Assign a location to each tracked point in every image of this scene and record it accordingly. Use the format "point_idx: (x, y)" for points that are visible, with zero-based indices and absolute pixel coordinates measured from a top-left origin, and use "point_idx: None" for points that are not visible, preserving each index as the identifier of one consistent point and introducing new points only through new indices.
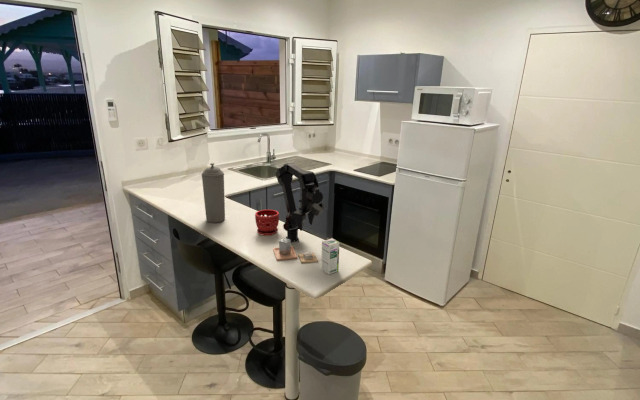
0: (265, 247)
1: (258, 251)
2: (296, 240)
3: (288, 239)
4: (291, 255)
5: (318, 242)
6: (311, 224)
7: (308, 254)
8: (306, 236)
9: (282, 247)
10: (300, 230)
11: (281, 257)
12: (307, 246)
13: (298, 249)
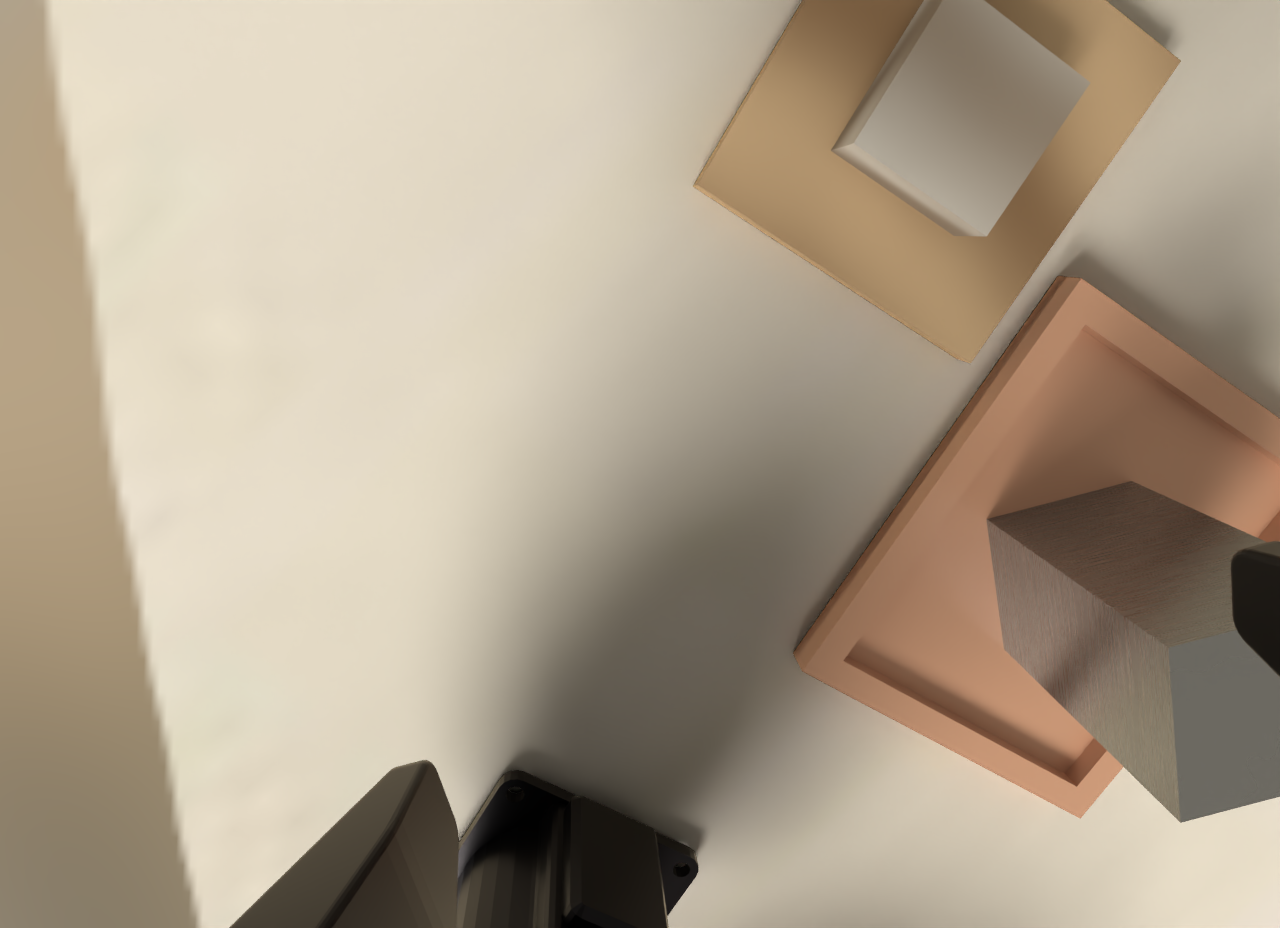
0: (1075, 914)
1: (1240, 874)
2: (558, 804)
3: (1182, 697)
4: (1059, 427)
5: (232, 508)
6: (431, 766)
7: (980, 89)
8: (253, 837)
9: None
10: (1265, 604)
11: (1225, 487)
12: (541, 521)
13: (761, 539)
